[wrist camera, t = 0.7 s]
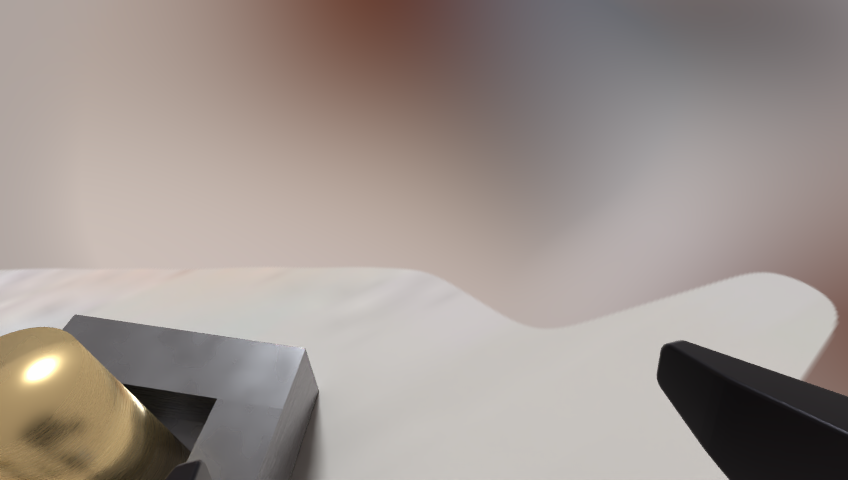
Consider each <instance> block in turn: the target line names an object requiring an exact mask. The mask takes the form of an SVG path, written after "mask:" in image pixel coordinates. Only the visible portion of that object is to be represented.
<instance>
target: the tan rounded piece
mask: <svg viewBox="0 0 848 480" xmlns="http://www.w3.org/2000/svg"><path fill="white" fill-rule="evenodd" d="M190 454H191V452H190V451H189V449H188V448H187V447H186V446H185V445H184V444H183V443H182V442H181V441H180V440H179V439H177V438H176V437H175V436H174V435H173V434H172V433H171V432H170V431H169V430H168V429H167V428H166V427H165V426H164V425H163V424H162V423H161V422H160V421H159V420H158V419H157V418H156V417H155V416H154V415H153V414H152V413H151V412H150V411H149V410H148V409H147V408H146V407H145V406H144V405H143V404H142V403H141V402H140V401H139V400H138V399H137V398H136V397H135V396H134V395H133V394H132V393H131V392H130V391H129V390H128V389H126V388H125V387H124V386H123V385H122V384H121V383H120V382H119V381H118V380H117V379H116V378H115V377H114V376H113V375H112V374H111V373H110V372H109V371H108V370H107V369H106V368H105V367H104V366H103V365H102V364H101V363H100V362H99V361H98V360H97V359H96V358H95V357H94V356H93V355H92V354H91V353H90V352H89V351H88V350H87V349H86V348H85V347H84V346H83V345H82V344H81V343H80V342H79V341H78V340H76V339H75V338H74V337H73V336H72V335H71V334H69V333H68V332H66V331H63V330H61V329H57V328H50V327H36V328H28V329H23V330H19V331H15V332H12V333H9V334H6V335H4V336H1V337H0V480H164V479H165V478H166V477H167V476H168V474H169V473H170V472H171V471H172V470H173V469H174V468H175V467H176V466H177V465H179V464H182V463H186V462H187V460H188V458H189V456H190Z"/></svg>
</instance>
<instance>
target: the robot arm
mask: <svg viewBox="0 0 848 480" xmlns="http://www.w3.org/2000/svg"><path fill="white" fill-rule="evenodd" d="M657 380H658V383H659V385H660V387H661V389H662V390H663V392H664V393H665V395H666V396H667V397H668V399H669V400H670V402H671V403H672V404H673V406H674V407H675V409H676V410H677V411H678V413H679V414H680V416H681V417H682V419H683V420H684V421H685V423H686V424H687V426H688V427H689V428H690V430H691V431H692V433H693V434H694V436H695V437H696V438H697V440H698V441H699V443H700V444H701V445H702V447H703V448H704V449H705V451H706V452H707V453H708V455H709V456H710V457H711V458H712V460H713V461H714V462H715V463H716V464H717V466H718V467H719V468H720V469H721V470H722V472H723V473H724V474H725V475H726V476H727V478H728V479H729V480H848V397H847V396H845V395H842V394H839V393H836V392H833V391H830V390H827V389H824V388H821V387H818V386H815V385H812V384H809V383H807V382H804V381H801V380H798V379H795V378H792V377H789V376H786V375H783V374H780V373H777V372H774V371H772V370H769V369H766V368H763V367H760V366H757V365H754V364H751V363H748V362H745V361H742V360H739V359H736V358H734V357H731V356H728V355H725V354H722V353H719V352H716V351H713V350H710V349H707V348H704V347H701V346H699V345H696V344H693V343H690V342H687V341H682V340H680V341H675V342H671V343H667V344H665V345H663V347H662V348H661V352H660V358H659V363H658V369H657ZM164 480H212V478H211V475H210V472H209V470H208V467H207V465H206V463H205V462H204V461H203V460H194V461H190V462H186V463H182V464H179V465H177V466H176V467H175V468H174V469H173V470H172V471H171V472H170V473H169V474H168V476H167V477H166V478H165V479H164Z"/></svg>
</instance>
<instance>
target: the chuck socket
mask: <svg viewBox="0 0 848 480" xmlns="http://www.w3.org/2000/svg"><path fill="white" fill-rule="evenodd" d="M63 331H66V332H68V333H69V334H71V335H72V336H73V337H74V338H75V339H76V340H78V341H79V342H80V343H81V344H82V345H83V346H84V347H85V348H86V349H87V350H88V351H89V352H90V353H91V354H92V355H93V356H94V357H95V358H96V359H97V360H98V361H99V362H100V363H101V364H102V365H103V366H104V367H105V368H106V369H107V370H108V371H109V372H110V373H111V374H112V375H113V376H114V377H115V378H116V379H117V380H118V381H119V382H120V383H121V384H122V385H123V386H124V387H125V388H126V389H128V390H129V391H130V392H131V393H132V394H133V395H134V396H135V397H136V398H137V399H138V400H139V401H140V402H141V403H142V404H143V405H144V406H145V407H146V408H147V409H148V410H149V411H150V412H151V413H152V414H153V415H154V416H155V417H156V418H157V419H158V420H159V421H160V422H161V423H162V424H163V425H164V426H165V427H166V428H167V429H168V430H169V431H170V432H171V433H172V434H173V435H174V436H175V437H176V438H177V439H179V440H180V441H181V442H182V443H183V444H184V445H185V446H186V447H187V448H188V449H189V451H190V452H191V454H190V456H189V458H188V460H187V462H190V461H194V460H203V461H204V462H205V463H206V465H207V467H208V470H209V472H210V475H211V478H212V480H290V477H291V474H292V471H293V468H294V465H295V462H296V458H297V455H298V452H299V449H300V446H301V443H302V440H303V437H304V434H305V431H306V428H307V425H308V422H309V418H310V415H311V412H312V409H313V406H314V403H315V400H316V397H317V394H318V391H319V389H318V386H317V383H316V380H315V377H314V374H313V371H312V368H311V365H310V361H309V358H308V355H307V352H306V349H305V348H299V347H292V346H285V345H279V344H272V343H265V342H258V341H251V340H245V339H238V338H231V337H224V336H218V335H211V334H204V333H197V332H190V331H184V330H177V329H170V328H163V327H156V326H150V325H143V324H136V323H129V322H122V321H116V320H109V319H102V318H95V317H89V316H82V315H74V316H73V317H72V319H71V320H70V321H69V322H68V324H67V325H66V326H65V327H64V328H63Z"/></svg>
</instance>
